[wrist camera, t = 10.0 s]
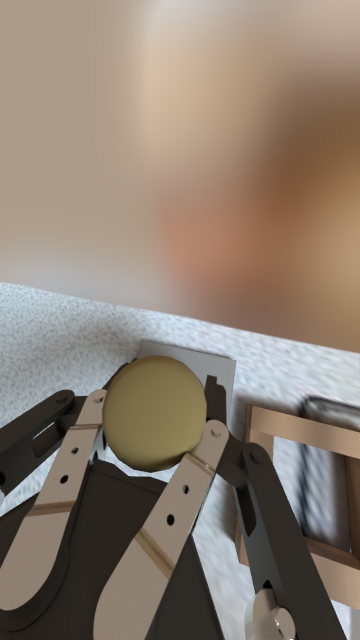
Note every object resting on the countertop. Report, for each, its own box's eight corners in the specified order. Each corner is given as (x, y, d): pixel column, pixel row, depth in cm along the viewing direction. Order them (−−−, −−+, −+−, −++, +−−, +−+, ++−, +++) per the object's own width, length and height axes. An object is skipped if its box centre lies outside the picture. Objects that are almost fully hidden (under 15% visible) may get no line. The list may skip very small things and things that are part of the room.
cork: (219, 390, 18) (245, 387, 8) (185, 451, 16) (162, 550, 6) (169, 357, 19) (136, 319, 9) (135, 409, 18) (49, 430, 8)
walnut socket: (234, 543, 16) (239, 563, 15) (247, 404, 21) (252, 405, 19) (384, 600, 15) (412, 631, 13) (366, 434, 19) (385, 439, 17)
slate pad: (116, 433, 21) (113, 435, 20) (145, 342, 24) (142, 340, 23) (221, 465, 19) (222, 469, 18) (234, 361, 22) (236, 360, 21)
